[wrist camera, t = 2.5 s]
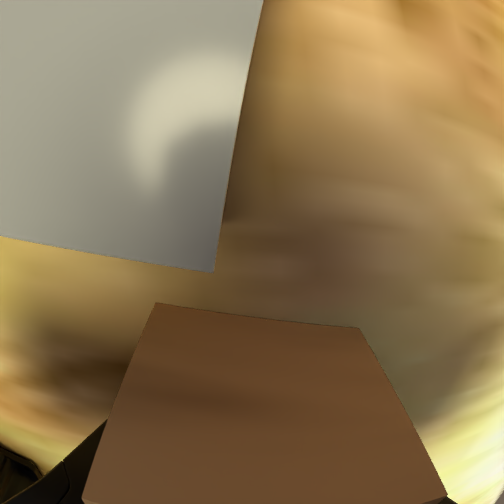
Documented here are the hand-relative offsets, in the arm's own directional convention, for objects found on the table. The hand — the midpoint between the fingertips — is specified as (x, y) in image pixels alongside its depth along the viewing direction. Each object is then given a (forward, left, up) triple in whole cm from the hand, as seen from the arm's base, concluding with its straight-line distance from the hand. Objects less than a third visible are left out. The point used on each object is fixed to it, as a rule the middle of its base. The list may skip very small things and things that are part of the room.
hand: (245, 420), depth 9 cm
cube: (0, 0, -1) cm, 1 cm away
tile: (+12, +8, -1) cm, 14 cm away
